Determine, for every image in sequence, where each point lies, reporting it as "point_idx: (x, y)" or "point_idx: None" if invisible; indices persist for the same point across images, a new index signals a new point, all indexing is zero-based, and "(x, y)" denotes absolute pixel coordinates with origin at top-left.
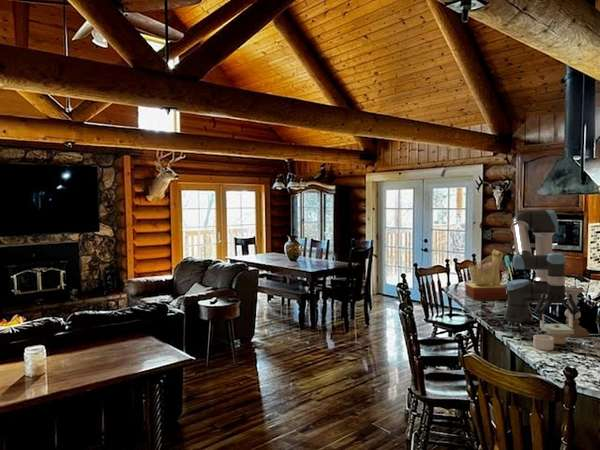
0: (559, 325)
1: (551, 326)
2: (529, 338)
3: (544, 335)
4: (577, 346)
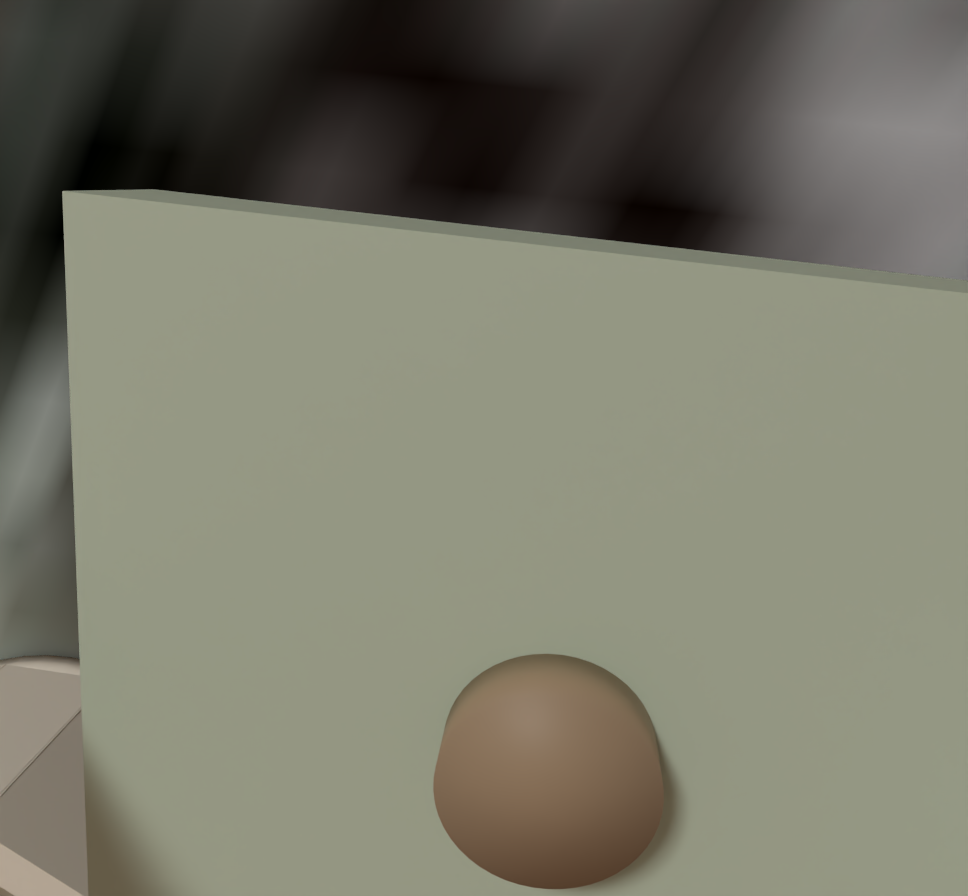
0: (827, 589)
1: (376, 675)
2: (17, 161)
3: (14, 891)
4: None
